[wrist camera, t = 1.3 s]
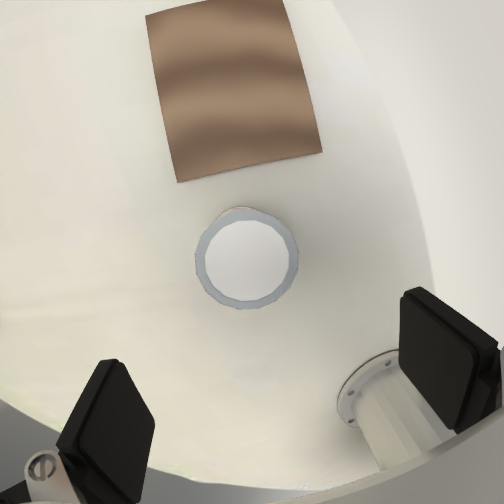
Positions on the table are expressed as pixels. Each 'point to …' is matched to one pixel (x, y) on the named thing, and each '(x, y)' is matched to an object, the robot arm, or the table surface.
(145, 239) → the table surface
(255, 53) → the walnut board
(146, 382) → the table surface
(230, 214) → the white short cylinder
